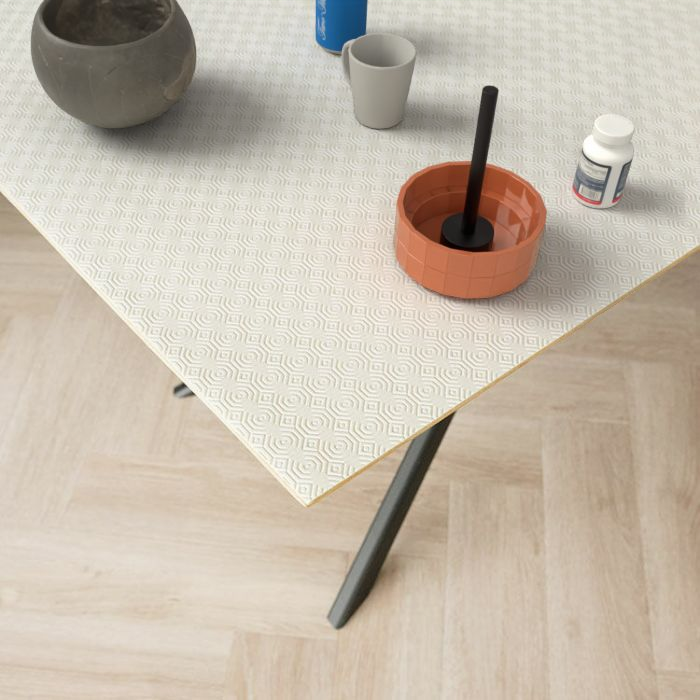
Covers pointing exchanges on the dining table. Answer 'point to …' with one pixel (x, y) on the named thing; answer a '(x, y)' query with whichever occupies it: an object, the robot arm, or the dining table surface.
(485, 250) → the black plunger
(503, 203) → the mixing bowl
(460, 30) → the dining table surface
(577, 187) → the pill bottle
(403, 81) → the cup
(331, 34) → the beverage can
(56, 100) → the bowl
